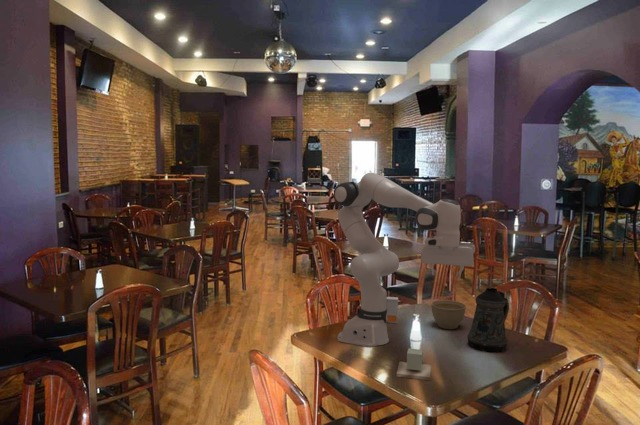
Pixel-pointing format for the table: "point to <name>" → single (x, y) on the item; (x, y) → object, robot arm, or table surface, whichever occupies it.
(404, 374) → the post stand
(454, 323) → the planter bowl
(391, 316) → the skincare box
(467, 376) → the table surface
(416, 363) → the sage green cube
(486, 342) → the beer stein
